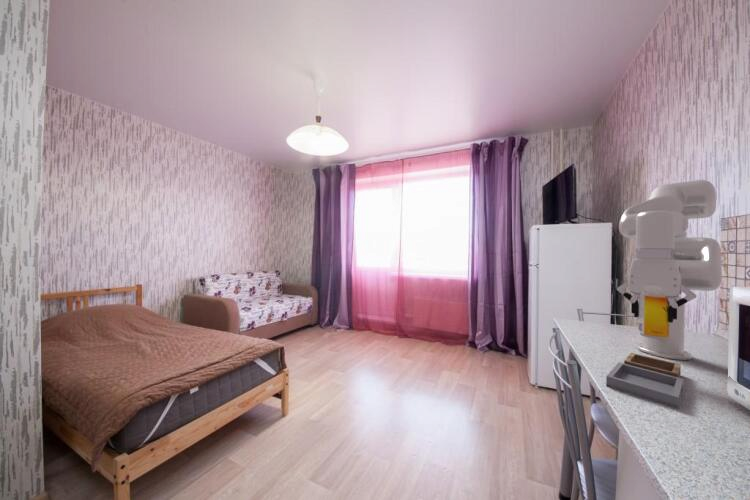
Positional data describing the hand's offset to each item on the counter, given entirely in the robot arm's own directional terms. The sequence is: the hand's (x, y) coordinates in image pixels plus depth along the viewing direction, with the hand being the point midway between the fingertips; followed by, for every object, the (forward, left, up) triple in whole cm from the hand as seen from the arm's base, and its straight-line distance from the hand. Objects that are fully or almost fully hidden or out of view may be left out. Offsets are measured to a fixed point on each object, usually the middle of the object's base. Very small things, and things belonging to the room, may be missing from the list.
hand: (653, 318), depth 75 cm
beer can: (0, 0, -5) cm, 5 cm away
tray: (+14, 0, -15) cm, 21 cm away
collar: (+1, 0, -15) cm, 15 cm away
